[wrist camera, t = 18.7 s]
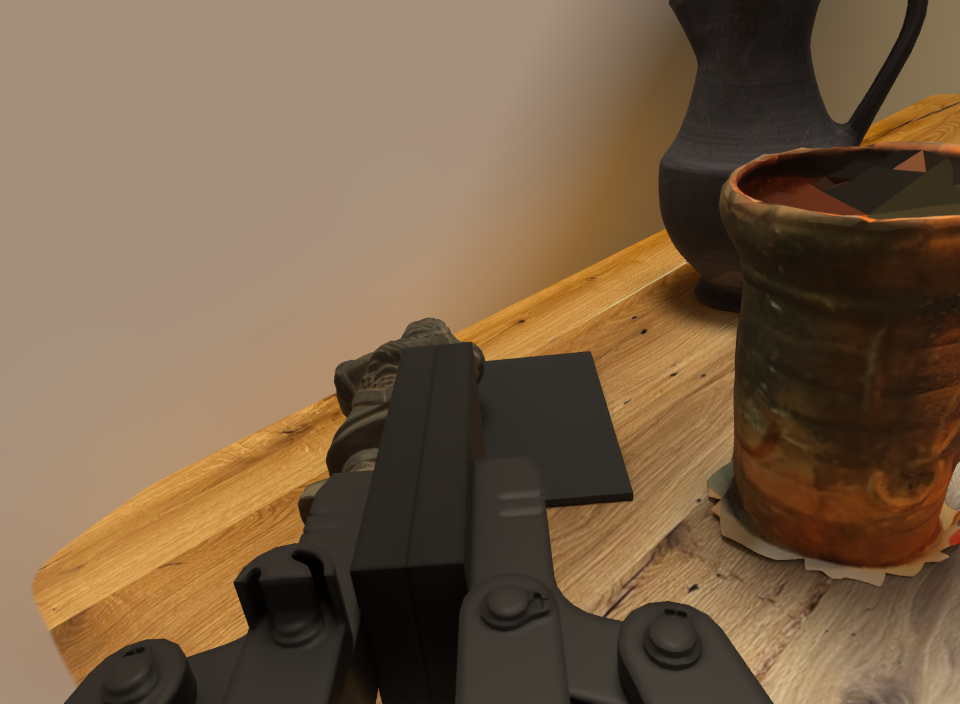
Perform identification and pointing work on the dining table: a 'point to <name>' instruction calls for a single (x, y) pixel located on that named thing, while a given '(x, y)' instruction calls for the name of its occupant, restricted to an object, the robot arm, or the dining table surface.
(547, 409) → the mat
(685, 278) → the dining table surface
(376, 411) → the statue
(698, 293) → the pitcher
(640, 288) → the dining table surface
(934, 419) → the vessel
